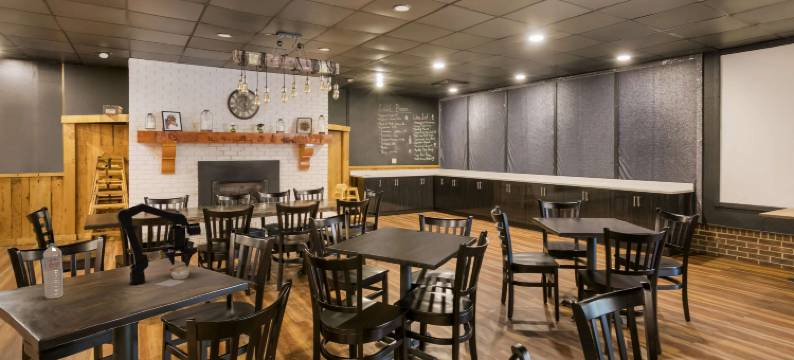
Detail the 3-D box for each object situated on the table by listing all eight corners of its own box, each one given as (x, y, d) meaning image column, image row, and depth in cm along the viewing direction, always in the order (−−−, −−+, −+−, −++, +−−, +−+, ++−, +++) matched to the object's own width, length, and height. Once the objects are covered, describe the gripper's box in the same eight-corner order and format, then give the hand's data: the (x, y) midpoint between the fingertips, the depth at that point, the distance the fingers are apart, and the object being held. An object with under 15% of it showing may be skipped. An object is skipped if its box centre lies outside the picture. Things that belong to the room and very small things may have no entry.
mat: (154, 285, 228) (154, 284, 228) (170, 280, 238) (170, 279, 238) (170, 287, 225) (170, 286, 225) (185, 282, 235) (185, 281, 235)
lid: (169, 271, 239) (169, 267, 239) (181, 267, 246) (181, 263, 246) (178, 272, 237) (178, 268, 237) (190, 268, 244) (190, 264, 244)
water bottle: (43, 300, 205) (41, 245, 203) (46, 295, 211) (44, 243, 209) (61, 298, 208) (59, 244, 206) (64, 293, 214) (62, 241, 213)
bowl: (167, 279, 239) (167, 271, 239) (180, 275, 247) (179, 267, 247) (180, 281, 237) (180, 272, 236) (192, 276, 244) (192, 268, 244)
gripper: (204, 235, 245) (205, 263, 246) (177, 233, 251) (177, 260, 252) (189, 238, 235) (190, 268, 236) (161, 236, 240) (161, 265, 241)
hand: (180, 265), depth 241 cm, fingers open, 9 cm apart
